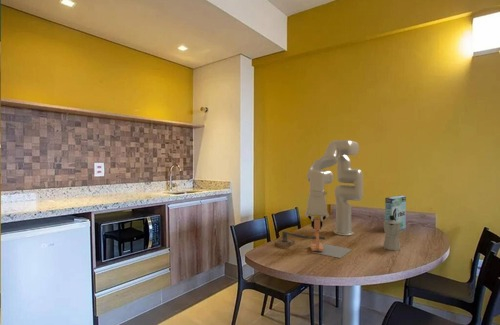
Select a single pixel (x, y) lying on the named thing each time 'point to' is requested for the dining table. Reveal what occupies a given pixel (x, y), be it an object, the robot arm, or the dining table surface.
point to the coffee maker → (391, 234)
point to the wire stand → (287, 243)
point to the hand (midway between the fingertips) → (316, 227)
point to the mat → (333, 251)
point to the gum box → (396, 209)
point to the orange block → (316, 245)
